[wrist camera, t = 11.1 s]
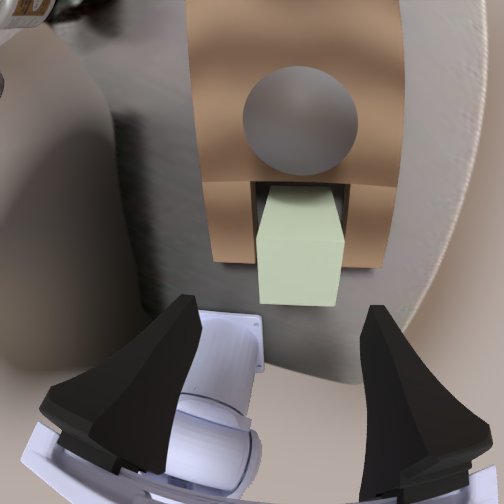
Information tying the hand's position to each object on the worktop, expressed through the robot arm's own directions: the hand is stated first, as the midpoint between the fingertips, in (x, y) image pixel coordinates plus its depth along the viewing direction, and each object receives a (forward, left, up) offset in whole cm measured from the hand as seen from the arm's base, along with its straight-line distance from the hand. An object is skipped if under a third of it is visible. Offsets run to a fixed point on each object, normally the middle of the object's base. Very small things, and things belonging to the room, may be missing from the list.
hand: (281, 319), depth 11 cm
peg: (0, -1, -10) cm, 10 cm away
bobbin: (+7, -1, -8) cm, 11 cm away
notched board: (+7, -1, -10) cm, 12 cm away
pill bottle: (+22, +20, -10) cm, 32 cm away
